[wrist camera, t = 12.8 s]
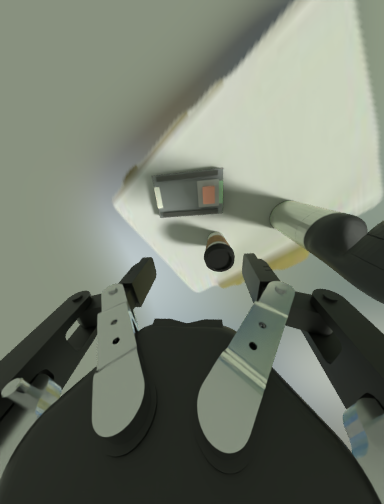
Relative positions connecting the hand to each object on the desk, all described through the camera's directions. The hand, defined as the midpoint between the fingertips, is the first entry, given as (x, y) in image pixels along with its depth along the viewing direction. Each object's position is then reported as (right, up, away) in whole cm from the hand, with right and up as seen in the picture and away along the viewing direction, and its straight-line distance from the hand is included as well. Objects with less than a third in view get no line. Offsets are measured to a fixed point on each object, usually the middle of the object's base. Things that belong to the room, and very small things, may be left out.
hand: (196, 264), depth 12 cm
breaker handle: (+4, +18, +27) cm, 33 cm away
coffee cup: (+8, +6, +37) cm, 39 cm away
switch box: (-1, +19, +31) cm, 36 cm away
